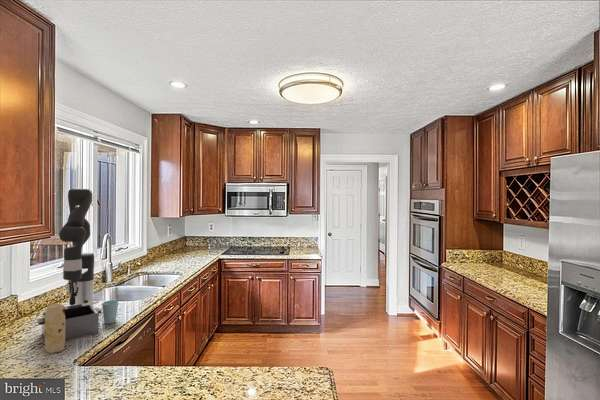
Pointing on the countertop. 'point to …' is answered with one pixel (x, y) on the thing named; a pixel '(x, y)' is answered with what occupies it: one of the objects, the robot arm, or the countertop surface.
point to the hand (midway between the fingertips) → (72, 304)
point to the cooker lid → (78, 305)
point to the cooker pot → (78, 322)
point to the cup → (110, 311)
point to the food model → (55, 328)
